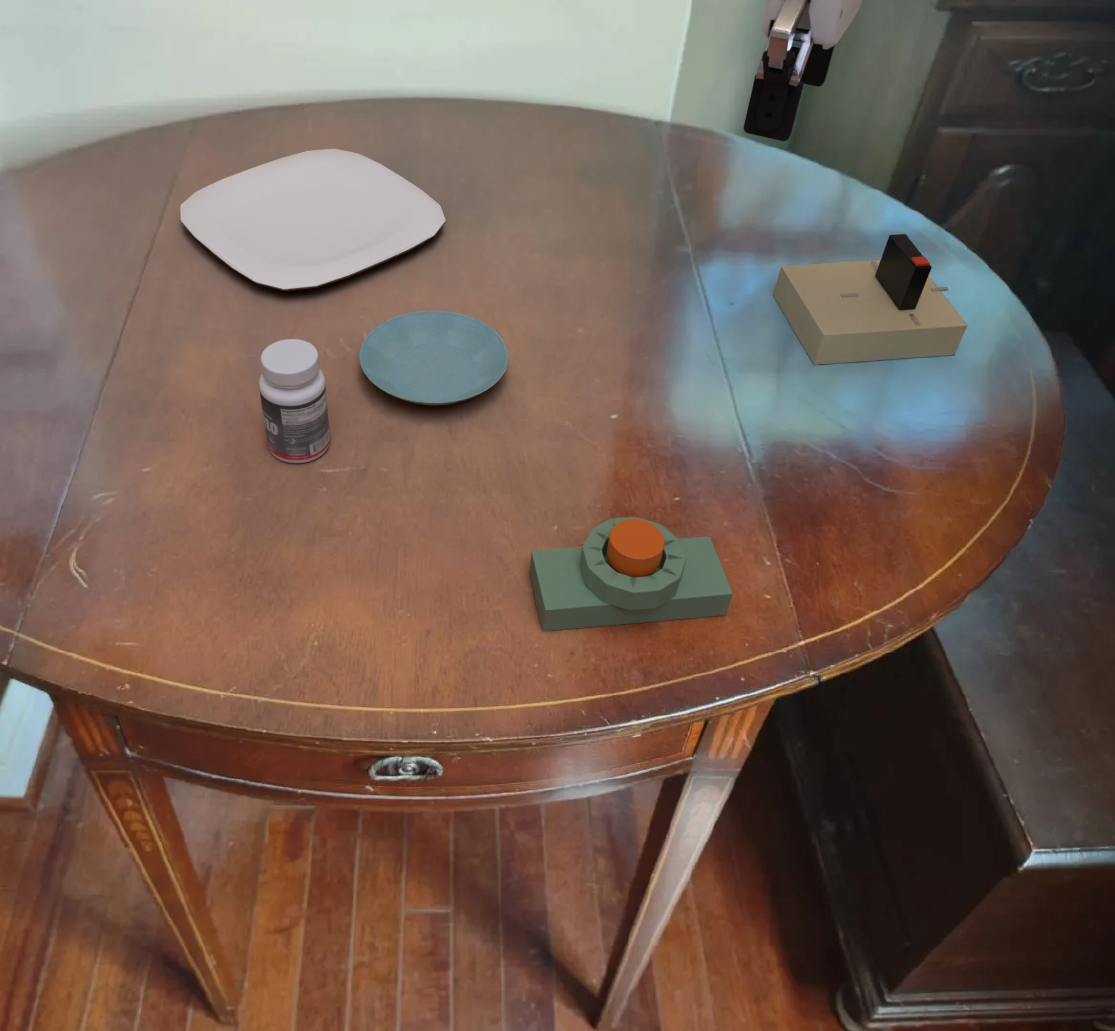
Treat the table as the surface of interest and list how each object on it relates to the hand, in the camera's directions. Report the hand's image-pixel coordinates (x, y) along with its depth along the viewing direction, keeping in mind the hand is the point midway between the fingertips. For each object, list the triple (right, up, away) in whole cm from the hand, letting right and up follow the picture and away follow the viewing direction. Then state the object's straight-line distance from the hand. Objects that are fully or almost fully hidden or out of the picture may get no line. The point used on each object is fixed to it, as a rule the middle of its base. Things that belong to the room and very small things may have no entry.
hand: (784, 107), depth 76 cm
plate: (-37, -2, +25) cm, 44 cm away
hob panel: (+11, -13, +13) cm, 22 cm away
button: (-13, -32, -10) cm, 36 cm away
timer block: (-13, -35, -7) cm, 38 cm away
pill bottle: (-36, -24, +3) cm, 43 cm away
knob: (+13, -11, +11) cm, 21 cm away
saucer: (-25, -18, +9) cm, 33 cm away
